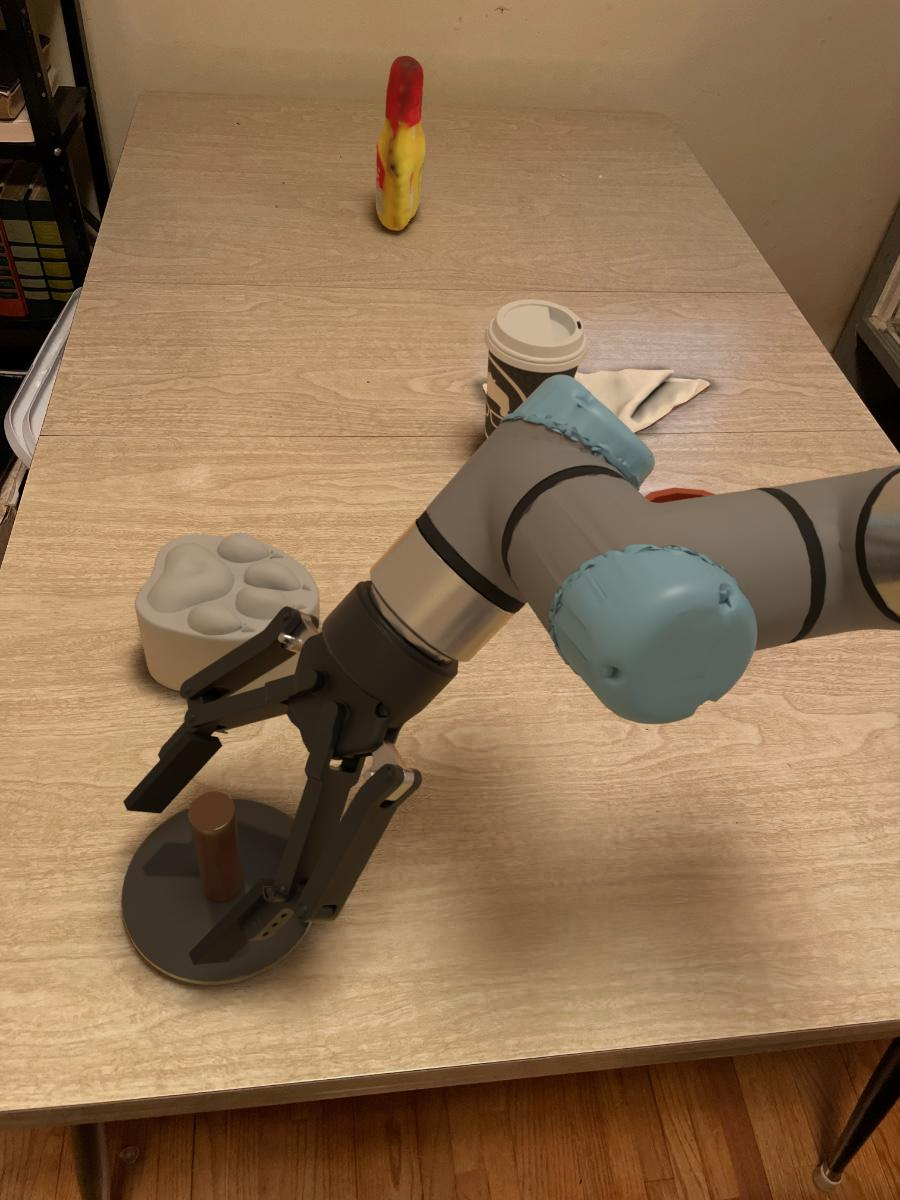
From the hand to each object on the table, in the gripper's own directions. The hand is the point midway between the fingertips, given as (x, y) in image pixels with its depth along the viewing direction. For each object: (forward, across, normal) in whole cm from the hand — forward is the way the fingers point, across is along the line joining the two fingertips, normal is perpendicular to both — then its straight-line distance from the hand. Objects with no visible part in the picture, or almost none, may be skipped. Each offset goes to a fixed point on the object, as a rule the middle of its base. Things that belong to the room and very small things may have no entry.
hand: (173, 878), depth 58 cm
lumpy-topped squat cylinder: (-5, +19, -12) cm, 23 cm away
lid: (+1, 0, -5) cm, 5 cm away
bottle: (-39, +79, -46) cm, 100 cm away
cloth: (-39, +34, -46) cm, 69 cm away
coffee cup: (-29, +30, -36) cm, 55 cm away
